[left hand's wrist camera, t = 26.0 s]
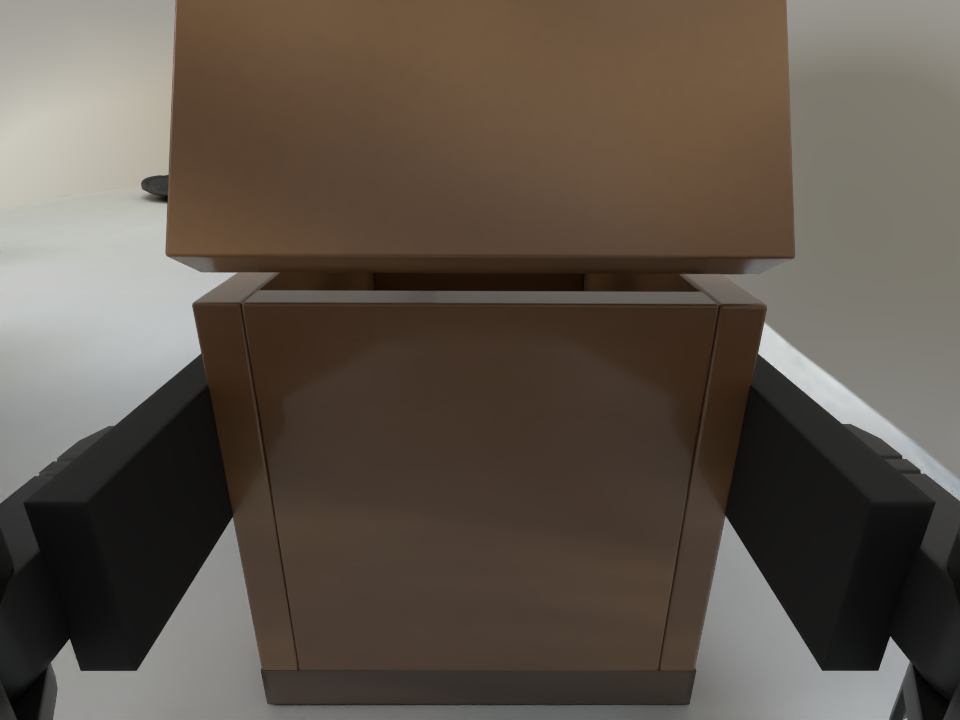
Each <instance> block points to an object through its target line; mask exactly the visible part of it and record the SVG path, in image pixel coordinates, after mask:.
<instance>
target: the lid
mask: <svg viewBox="0 0 960 720" xmlns="http://www.w3.org/2000/svg"><path fill="white" fill-rule="evenodd" d="M166 256H168V257H170V258H172V259H174V260H176V261H178V262H180V263H183V264H185V265H187V266H189V267H191V268H193V269H196V270H198V271H200V272H268V273H542V274H760V273H763V272H765V271H767V270H769V269H772V268H774V267H776V266H778V265H780V264H783V263H785V262H787V261H789V260H792V259H794V257H795V239H794V209H793V180H792V151H791V123H790V93H789V64H788V35H787V6H786V0H176V7H175V31H174V56H173V81H172V107H171V131H170V156H169V181H168V206H167V230H166Z"/></svg>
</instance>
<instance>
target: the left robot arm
mask: <svg viewBox="0 0 960 720" xmlns="http://www.w3.org/2000/svg"><path fill="white" fill-rule="evenodd" d="M57 459H58V460H57V462H52V463H51V464H49V465H48V466H47V467H46V468H44V469H43V470H42V471H41V472H39V476H34V477H33V478H32V479H31V480H29V481H28V482H27V483H26V484H24V485H23V486H22V487H21V488H19V489H18V490H17V491H16V492H14V493H13V494H12V495H11V496H9V497H8V498H7V499H6V500H4V501H3V502H2V503H1V504H0V720H53V715H54V709H55V702H56V696H57V683H56V677H55V674H54V671H53V668H52V666H51V661H52V660H53V659H54V658H55V656H56V655H57V654H58V653H59V651H60V650H61V649H62V648H63V646H64V645H65V644H66V642H67V641H68V640H69V639H70V641H71V643H72V646H73V649H74V652H75V655H76V658H77V661H78V664H79V667H80V670H81V671H137V669H138V668H139V666H140V665H141V663H142V661H143V660H144V658H145V657H146V655H147V653H148V652H149V650H150V649H151V647H152V645H153V644H154V642H155V641H156V639H157V637H158V636H159V634H160V633H161V631H162V629H163V628H164V626H165V625H166V623H167V621H168V620H169V618H170V616H171V615H172V613H173V612H174V610H175V608H176V607H177V605H178V604H179V602H180V600H181V599H182V597H183V596H184V594H185V592H186V591H187V589H188V588H189V586H190V584H191V583H192V581H193V580H194V578H195V576H196V575H197V573H198V572H199V570H200V568H201V567H202V565H203V564H204V562H205V560H206V559H207V557H208V556H209V554H210V552H211V551H212V549H213V548H214V546H215V544H216V543H217V541H218V540H219V538H220V536H221V535H222V533H223V531H224V530H225V528H226V527H227V525H228V523H229V522H230V520H231V519H232V517H233V513H232V508H231V503H230V498H229V492H228V487H227V482H226V477H225V472H224V467H223V462H222V457H221V452H220V446H219V441H218V436H217V431H216V426H215V421H214V416H213V411H212V405H211V400H210V395H209V390H208V385H207V379H206V374H205V369H204V364H203V359H202V354H200V355H199V356H198V357H197V358H196V359H194V360H193V361H192V362H191V363H190V364H188V365H187V366H186V367H185V368H184V369H182V370H181V371H180V372H179V373H178V374H176V375H175V376H174V377H173V378H172V379H170V380H169V381H168V382H167V383H166V384H164V385H163V386H162V387H161V388H160V389H158V390H157V391H156V392H155V393H154V394H153V395H151V396H150V397H149V398H148V399H147V400H145V401H144V402H143V403H142V404H141V405H139V406H138V407H137V408H136V409H135V410H133V411H132V412H131V413H130V414H129V415H127V416H126V417H125V418H124V419H123V420H121V421H120V422H119V423H118V424H117V425H115V426H109V427H107V428H105V429H102V430H100V431H98V432H96V433H94V434H92V435H90V436H88V437H86V438H84V439H82V440H80V441H78V442H77V443H76V444H75V445H73V446H72V447H71V448H70V449H68V450H67V451H66V452H64V453H63V454H62V455H61V456H59V457H58V458H57ZM726 517H727V518H728V520H729V522H730V523H731V525H732V526H733V528H734V530H735V531H736V533H737V534H738V536H739V538H740V539H741V541H742V542H743V544H744V546H745V547H746V549H747V550H748V552H749V554H750V555H751V557H752V558H753V560H754V562H755V563H756V565H757V566H758V568H759V570H760V571H761V573H762V574H763V576H764V578H765V579H766V581H767V582H768V584H769V586H770V587H771V589H772V591H773V592H774V594H775V595H776V597H777V599H778V600H779V602H780V603H781V605H782V607H783V608H784V610H785V611H786V613H787V615H788V616H789V618H790V619H791V621H792V623H793V624H794V626H795V627H796V629H797V631H798V632H799V634H800V635H801V637H802V639H803V640H804V642H805V643H806V645H807V647H808V648H809V650H810V651H811V653H812V655H813V656H814V658H815V659H816V661H817V663H818V664H819V666H820V667H821V669H822V671H878V670H879V667H880V664H881V661H882V658H883V655H884V652H885V649H886V646H887V644H888V641H889V638H890V636H891V638H892V639H893V640H894V641H895V643H896V644H897V645H898V646H899V648H900V649H901V650H902V651H903V653H904V654H905V655H906V656H907V658H908V659H909V660H910V663H909V666H908V668H907V671H906V674H905V677H904V679H903V682H902V685H901V688H900V690H899V693H898V696H897V698H896V701H895V704H894V707H893V709H892V712H891V715H890V718H889V720H903V719H905V718H907V720H960V501H959V500H958V499H956V498H955V497H954V496H952V495H951V494H950V493H949V492H947V491H946V490H945V489H944V488H942V487H941V486H940V485H939V484H937V483H936V482H935V481H934V480H932V479H931V478H930V477H928V476H927V475H926V474H921V473H920V469H918V468H917V467H916V466H915V465H913V464H912V463H911V462H909V461H908V460H907V459H902V455H901V454H899V453H898V452H897V451H896V450H894V449H893V448H892V447H891V446H889V445H888V444H887V443H885V442H884V441H883V440H882V439H880V438H878V437H876V436H874V435H872V434H870V433H868V432H866V431H864V430H862V429H860V428H858V427H855V426H853V425H851V424H841V423H840V422H839V421H838V420H837V419H835V418H834V417H833V416H832V415H831V414H829V413H828V412H827V411H826V410H825V409H823V408H822V407H821V406H820V405H819V404H817V403H816V402H815V401H814V400H813V399H811V398H810V397H809V396H808V395H807V394H805V393H804V392H803V391H802V390H801V389H799V388H798V387H797V386H796V385H795V384H793V383H792V382H791V381H790V380H789V379H787V378H786V377H785V376H784V375H783V374H781V373H780V372H779V371H778V370H777V369H775V368H774V367H773V366H772V365H771V364H770V363H768V362H767V361H766V360H765V359H764V358H762V357H761V356H760V355H759V354H758V356H757V360H756V365H755V370H754V375H753V380H752V385H751V388H750V393H749V398H748V403H747V408H746V413H745V418H744V423H743V428H742V434H741V439H740V444H739V449H738V454H737V459H736V464H735V469H734V474H733V479H732V484H731V489H730V495H729V500H728V505H727V510H726Z"/></svg>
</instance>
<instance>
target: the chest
mask: <svg viewBox="0 0 960 720" xmlns="http://www.w3.org/2000/svg"><path fill="white" fill-rule="evenodd" d="M192 307H193V312H194V317H195V322H196V327H197V333H198V338H199V343H200V348H201V353H202V359H203V364H204V369H205V374H206V379H207V385H208V390H209V395H210V400H211V405H212V411H213V416H214V421H215V426H216V431H217V436H218V441H219V446H220V452H221V457H222V462H223V467H224V472H225V477H226V482H227V487H228V492H229V498H230V503H231V508H232V513H233V520H234V525H235V530H236V536H237V541H238V546H239V551H240V557H241V562H242V567H243V572H244V577H245V583H246V588H247V593H248V598H249V603H250V609H251V614H252V619H253V624H254V629H255V635H256V640H257V645H258V650H259V655H260V661H261V666H262V669H261V674H262V679H263V684H264V689H265V694H266V699H267V704H690V699H691V694H692V689H693V684H694V679H695V674H696V669H695V664H696V659H697V654H698V649H699V644H700V639H701V634H702V629H703V624H704V619H705V614H706V609H707V605H708V600H709V595H710V590H711V585H712V580H713V575H714V570H715V565H716V560H717V555H718V550H719V545H720V540H721V535H722V530H723V525H724V520H725V515H726V510H727V505H728V500H729V495H730V489H731V484H732V479H733V474H734V469H735V464H736V459H737V454H738V449H739V444H740V439H741V434H742V428H743V423H744V418H745V413H746V408H747V403H748V398H749V393H750V388H751V385H752V380H753V375H754V370H755V365H756V360H757V356H758V351H759V346H760V341H761V336H762V331H763V326H764V321H765V316H766V311H767V307H766V305H765V304H764V303H763V302H761V301H760V300H758V299H757V298H755V297H754V296H752V295H751V294H749V293H748V292H746V291H745V290H743V289H742V288H740V287H739V286H737V285H736V284H734V283H733V282H731V281H730V280H728V279H727V278H725V277H724V276H722V275H721V274H542V273H268V272H238V273H237V274H235V275H234V276H232V277H231V278H229V279H228V280H226V281H225V282H223V283H222V284H220V285H219V286H217V287H216V288H214V289H213V290H211V291H210V292H208V293H207V294H205V295H204V296H202V297H201V298H199V299H198V300H197V301H195V302H194V303H193V305H192Z"/></svg>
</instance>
